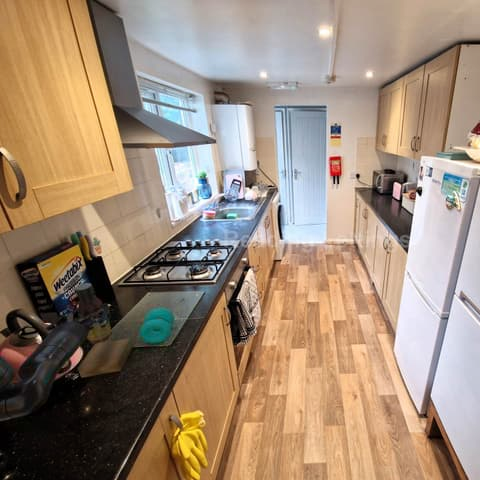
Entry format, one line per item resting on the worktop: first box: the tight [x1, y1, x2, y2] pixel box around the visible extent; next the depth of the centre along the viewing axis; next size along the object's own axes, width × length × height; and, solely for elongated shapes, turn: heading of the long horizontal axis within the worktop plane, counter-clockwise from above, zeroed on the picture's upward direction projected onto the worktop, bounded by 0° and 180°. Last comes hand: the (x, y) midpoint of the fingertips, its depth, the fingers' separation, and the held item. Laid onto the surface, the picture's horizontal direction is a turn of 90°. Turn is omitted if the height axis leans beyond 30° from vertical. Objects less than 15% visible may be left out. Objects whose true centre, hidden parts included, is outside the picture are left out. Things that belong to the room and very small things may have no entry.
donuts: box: [139, 307, 175, 344], centre depth 100 cm, size 10×10×10 cm
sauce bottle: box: [74, 282, 113, 344], centre depth 83 cm, size 7×6×20 cm
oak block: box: [77, 337, 134, 379], centre depth 90 cm, size 11×11×4 cm
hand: (94, 307), depth 84 cm, fingers closed on sauce bottle, 6 cm apart
